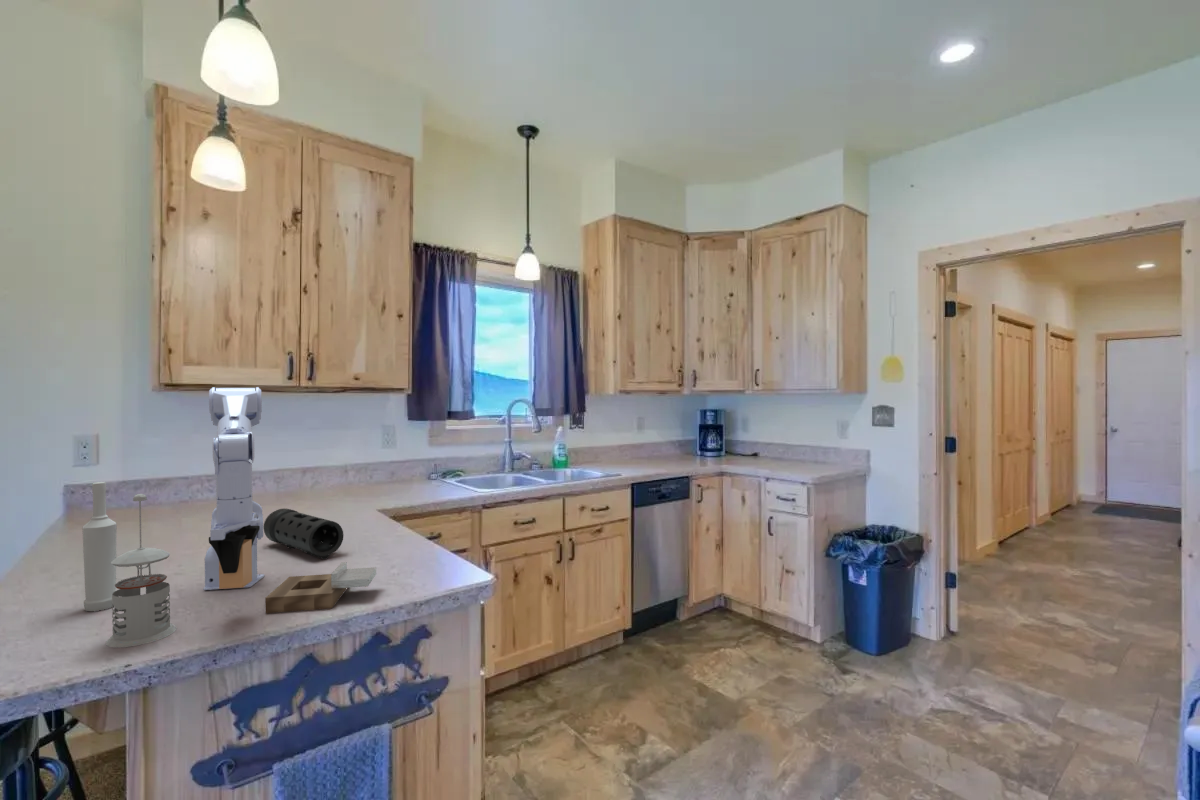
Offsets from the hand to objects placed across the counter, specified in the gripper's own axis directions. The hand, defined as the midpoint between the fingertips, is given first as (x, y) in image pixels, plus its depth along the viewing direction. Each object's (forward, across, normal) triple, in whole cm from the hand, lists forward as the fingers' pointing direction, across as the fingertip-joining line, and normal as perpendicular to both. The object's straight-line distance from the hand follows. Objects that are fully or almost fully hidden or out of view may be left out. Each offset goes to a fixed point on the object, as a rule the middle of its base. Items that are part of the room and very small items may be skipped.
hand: (235, 568), depth 106 cm
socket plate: (+9, +8, -10) cm, 16 cm away
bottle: (+10, +12, +30) cm, 33 cm away
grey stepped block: (+6, +8, -19) cm, 22 cm away
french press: (+10, -4, +14) cm, 17 cm away
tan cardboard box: (+3, 0, 0) cm, 3 cm away
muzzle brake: (+10, +48, +4) cm, 49 cm away
